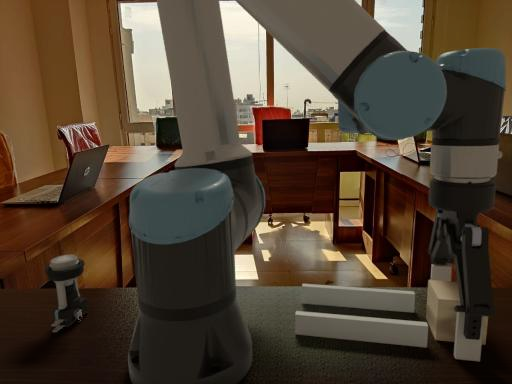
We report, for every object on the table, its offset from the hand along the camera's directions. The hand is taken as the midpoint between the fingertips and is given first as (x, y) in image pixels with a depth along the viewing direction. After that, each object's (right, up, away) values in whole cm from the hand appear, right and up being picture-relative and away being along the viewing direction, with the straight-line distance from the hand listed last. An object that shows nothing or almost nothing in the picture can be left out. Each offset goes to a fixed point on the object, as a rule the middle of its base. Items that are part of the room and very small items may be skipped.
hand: (451, 328), depth 52 cm
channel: (-12, 0, +3) cm, 13 cm away
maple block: (0, 0, 0) cm, 1 cm away
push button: (-56, -1, +5) cm, 56 cm away
